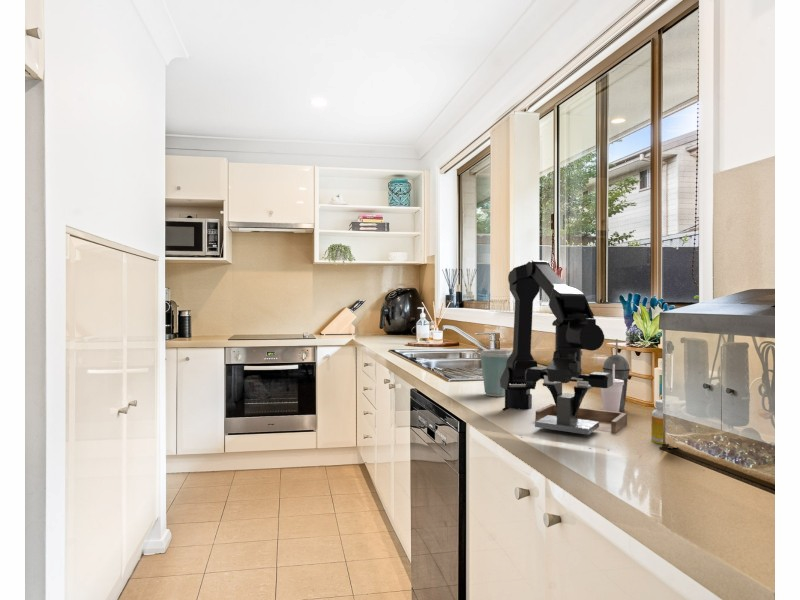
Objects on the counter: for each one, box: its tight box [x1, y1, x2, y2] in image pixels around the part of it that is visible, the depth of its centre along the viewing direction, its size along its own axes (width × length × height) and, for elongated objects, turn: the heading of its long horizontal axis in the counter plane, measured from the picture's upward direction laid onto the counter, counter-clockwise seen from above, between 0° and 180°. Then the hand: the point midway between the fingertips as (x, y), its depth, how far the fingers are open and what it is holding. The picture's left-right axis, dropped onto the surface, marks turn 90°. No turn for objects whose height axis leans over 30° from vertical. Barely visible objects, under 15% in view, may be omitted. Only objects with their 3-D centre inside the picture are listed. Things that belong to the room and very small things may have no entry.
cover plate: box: [534, 392, 599, 436], centre depth 126 cm, size 12×9×7 cm
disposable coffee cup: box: [479, 348, 513, 397], centre depth 178 cm, size 11×11×15 cm
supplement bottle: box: [650, 399, 663, 445], centre depth 119 cm, size 5×5×10 cm
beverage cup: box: [602, 339, 631, 412], centre depth 158 cm, size 7×7×20 cm
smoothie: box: [600, 364, 624, 412], centre depth 149 cm, size 6×6×14 cm
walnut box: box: [534, 403, 628, 434], centre depth 136 cm, size 19×12×4 cm, turn 56°
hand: (567, 414), depth 126 cm, fingers closed on cover plate, 3 cm apart
